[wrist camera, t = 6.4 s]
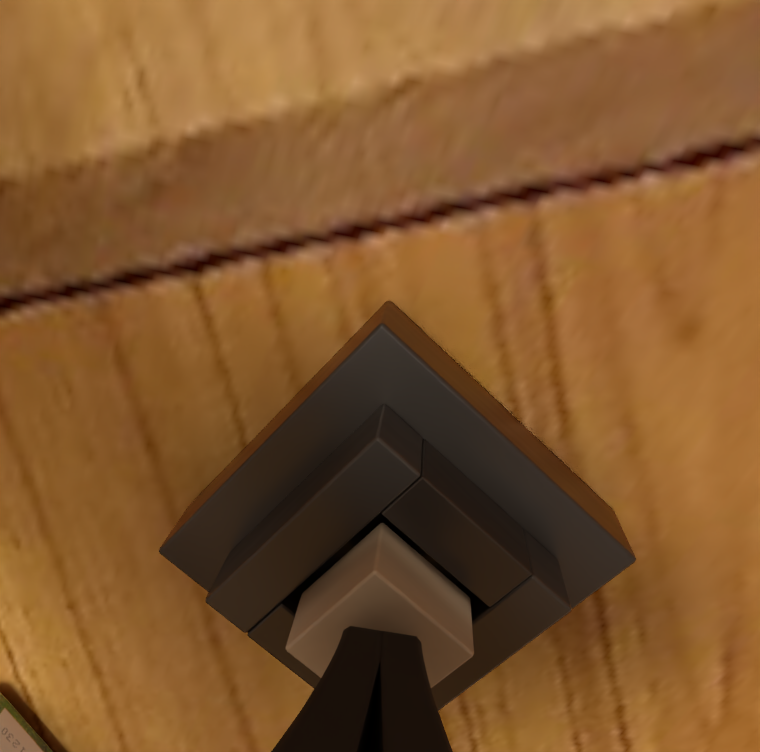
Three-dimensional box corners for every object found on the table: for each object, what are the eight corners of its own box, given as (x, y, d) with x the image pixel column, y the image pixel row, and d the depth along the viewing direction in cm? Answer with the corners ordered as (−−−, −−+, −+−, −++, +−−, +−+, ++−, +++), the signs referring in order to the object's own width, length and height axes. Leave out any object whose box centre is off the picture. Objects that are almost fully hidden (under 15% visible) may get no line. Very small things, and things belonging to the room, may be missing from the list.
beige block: (387, 663, 15) (381, 728, 14) (300, 593, 15) (282, 649, 13) (471, 597, 14) (475, 656, 13) (382, 519, 14) (374, 570, 12)
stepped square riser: (400, 679, 20) (391, 806, 16) (187, 506, 18) (123, 599, 15) (615, 511, 17) (664, 613, 14) (388, 298, 16) (373, 346, 12)
